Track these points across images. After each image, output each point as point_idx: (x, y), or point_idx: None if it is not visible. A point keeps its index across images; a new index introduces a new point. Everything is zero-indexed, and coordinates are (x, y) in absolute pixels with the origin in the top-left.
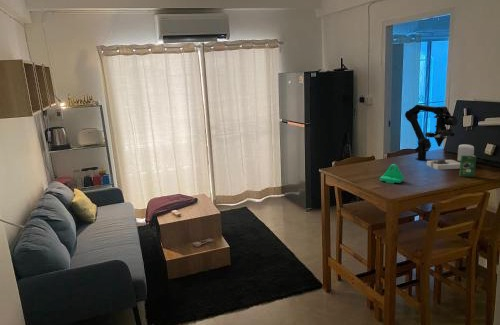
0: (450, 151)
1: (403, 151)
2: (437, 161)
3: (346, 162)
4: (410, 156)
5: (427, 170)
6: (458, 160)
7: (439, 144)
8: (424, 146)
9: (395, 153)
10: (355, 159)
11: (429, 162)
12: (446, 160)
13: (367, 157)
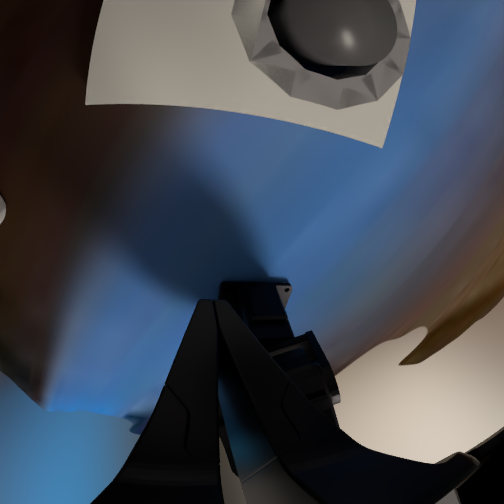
0: (18, 384)
1: None
2: (388, 17)
3: (491, 301)
4: None
5: (450, 25)
6: (2, 199)
7: (231, 331)
8: (322, 375)
9: None
10: (451, 335)
11: (392, 99)
12: (176, 73)
13: (408, 359)
